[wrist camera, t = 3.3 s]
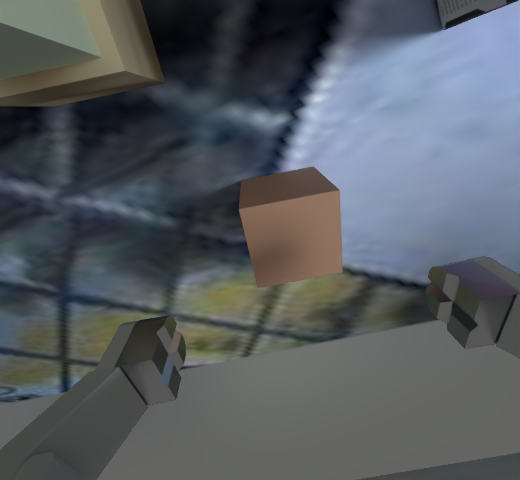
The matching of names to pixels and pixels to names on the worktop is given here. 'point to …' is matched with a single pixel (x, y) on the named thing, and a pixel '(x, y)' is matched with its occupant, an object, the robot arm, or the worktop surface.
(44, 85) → the beige block
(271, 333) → the worktop surface
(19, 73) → the sage cube
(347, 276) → the worktop surface
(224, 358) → the worktop surface
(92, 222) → the worktop surface
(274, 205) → the terracotta cube
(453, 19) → the candy bar box
